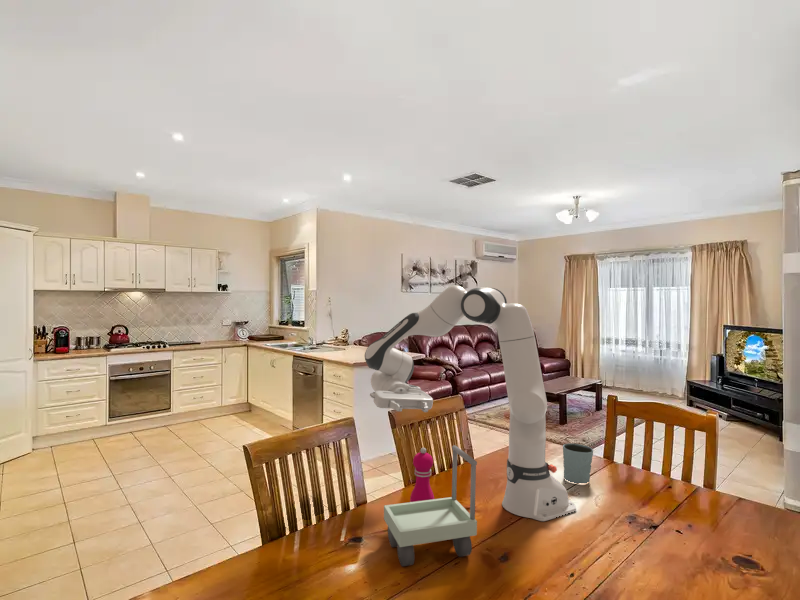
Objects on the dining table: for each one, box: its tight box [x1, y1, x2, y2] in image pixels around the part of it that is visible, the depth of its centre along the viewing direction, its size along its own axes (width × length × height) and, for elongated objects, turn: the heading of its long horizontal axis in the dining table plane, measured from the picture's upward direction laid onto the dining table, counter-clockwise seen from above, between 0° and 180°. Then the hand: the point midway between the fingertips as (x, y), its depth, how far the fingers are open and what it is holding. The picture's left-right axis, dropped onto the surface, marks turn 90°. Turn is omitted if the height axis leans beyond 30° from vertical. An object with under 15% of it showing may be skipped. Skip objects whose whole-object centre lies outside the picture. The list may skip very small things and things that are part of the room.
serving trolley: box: [383, 444, 478, 567], centre depth 114 cm, size 20×14×24 cm
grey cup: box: [562, 443, 594, 483], centre depth 160 cm, size 10×10×12 cm
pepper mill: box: [409, 447, 435, 502], centre depth 133 cm, size 7×7×20 cm
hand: (413, 409), depth 141 cm, fingers open, 8 cm apart
